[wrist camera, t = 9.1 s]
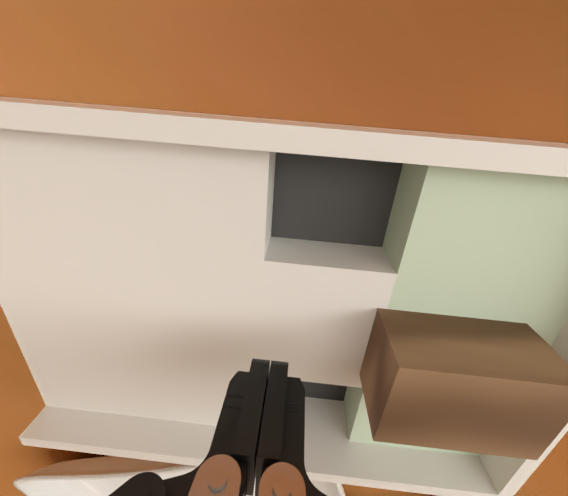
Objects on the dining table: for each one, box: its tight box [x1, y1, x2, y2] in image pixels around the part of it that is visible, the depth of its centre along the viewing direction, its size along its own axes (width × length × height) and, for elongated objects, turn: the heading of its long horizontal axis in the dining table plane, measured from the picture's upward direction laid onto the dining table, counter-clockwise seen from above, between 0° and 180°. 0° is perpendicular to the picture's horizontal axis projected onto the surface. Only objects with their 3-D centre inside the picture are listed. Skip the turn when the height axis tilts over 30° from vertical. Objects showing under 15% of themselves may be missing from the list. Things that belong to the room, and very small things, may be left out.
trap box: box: [0, 96, 568, 496], centre depth 15 cm, size 19×29×5 cm, turn 86°
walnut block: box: [359, 308, 568, 460], centre depth 13 cm, size 4×7×4 cm, turn 86°
